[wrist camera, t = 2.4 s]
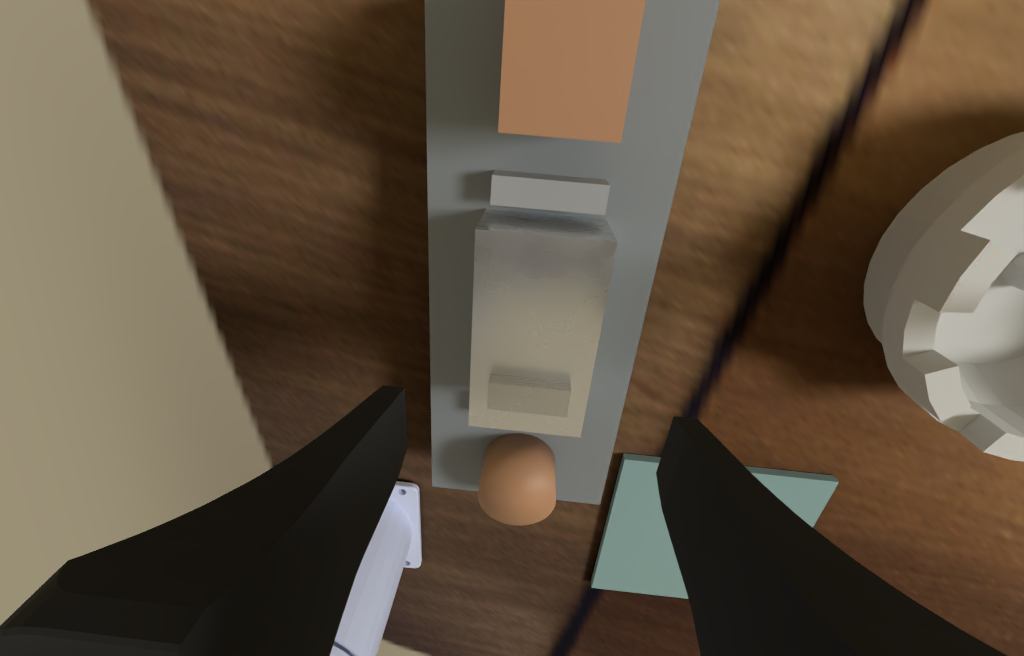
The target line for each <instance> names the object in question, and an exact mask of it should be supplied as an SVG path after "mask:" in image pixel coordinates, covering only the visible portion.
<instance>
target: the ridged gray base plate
mask: <svg viewBox="0 0 1024 656" xmlns="http://www.w3.org/2000/svg"><path fill="white" fill-rule="evenodd" d="M719 3H720V0H425V62H426V125H427V188H428V252H429V315H430V378H431V441H432V486H434V487H443V488H453V489H462V490H471V491H478V501H479V504H480V506H481V508H482V509H483V510H484V512H486V513H487V514H488V515H489V516H490V517H492V518H493V519H495V520H497V521H499V522H502V523H506V524H510V525H529V524H533V523H537V522H539V521H541V520H543V519H545V518H546V517H547V516H548V515H549V514H550V513H551V512H552V511H553V509H554V507H555V503H556V500H563V501H572V502H581V503H590V504H599V505H600V503H601V499H602V494H603V490H604V486H605V482H606V478H607V473H608V469H609V465H610V461H611V457H612V452H613V448H614V444H615V440H616V436H617V431H618V427H619V423H620V419H621V415H622V410H623V406H624V402H625V398H626V394H627V389H628V385H629V381H630V377H631V373H632V368H633V364H634V360H635V356H636V352H637V347H638V343H639V339H640V335H641V331H642V326H643V322H644V318H645V314H646V310H647V305H648V301H649V297H650V293H651V289H652V284H653V280H654V276H655V272H656V268H657V263H658V259H659V255H660V251H661V247H662V242H663V238H664V234H665V230H666V226H667V221H668V217H669V213H670V209H671V205H672V200H673V196H674V192H675V188H676V184H677V180H678V175H679V171H680V167H681V163H682V159H683V154H684V150H685V146H686V142H687V138H688V133H689V129H690V125H691V121H692V117H693V112H694V108H695V104H696V100H697V96H698V91H699V87H700V83H701V79H702V75H703V70H704V66H705V62H706V58H707V54H708V49H709V45H710V41H711V37H712V33H713V28H714V24H715V20H716V16H717V12H718V7H719ZM487 208H491V209H502V210H513V211H524V212H535V213H546V214H557V215H568V216H579V217H590V218H601V219H607V221H608V223H609V226H610V228H611V230H612V232H613V234H614V236H615V238H616V240H617V242H618V243H617V248H616V253H615V258H614V264H613V269H612V274H611V280H610V285H609V290H608V295H607V301H606V306H605V311H604V317H603V322H602V327H601V332H600V338H599V343H598V348H597V353H596V359H595V364H594V369H593V375H592V380H591V385H590V390H589V396H588V401H587V406H586V412H585V417H584V422H583V427H582V433H581V438H580V437H571V436H561V435H552V434H542V433H533V432H523V431H514V430H504V429H494V428H485V427H475V426H468V425H469V396H470V367H471V339H472V310H473V281H474V252H475V229H476V227H477V225H478V223H479V221H480V220H481V218H482V216H483V214H484V212H485V211H486V209H487Z"/></svg>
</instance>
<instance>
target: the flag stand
mask: <svg viewBox="0 0 1024 656" xmlns="http://www.w3.org/2000/svg"><path fill="white" fill-rule="evenodd" d="M863 305H864V309H865V313H866V318H867V322H868V324H869V326H870V328H871V330H872V331H873V333H874V335H875V337H876V338H877V339H878V340H879V341H880V342H881V343H882V345H883V350H884V354H885V359H886V363H887V367H888V369H889V371H890V373H891V374H892V376H893V378H894V380H895V381H896V383H897V385H898V387H899V388H900V389H901V390H902V391H904V392H905V393H906V394H907V395H908V396H909V397H910V398H911V399H912V400H913V401H914V402H915V403H916V404H918V405H919V406H920V407H921V408H922V409H924V410H925V411H926V412H927V413H928V414H930V415H931V416H932V417H933V418H934V419H936V420H937V421H939V422H941V423H943V424H944V425H946V426H948V427H950V428H952V429H954V430H956V431H957V432H959V433H960V434H962V435H963V436H964V437H965V438H967V439H968V440H969V441H970V442H971V443H973V444H974V445H975V446H976V447H978V448H979V449H980V450H981V451H983V452H985V453H989V454H992V455H996V456H999V457H1003V458H1006V459H1010V460H1016V461H1024V131H1023V132H1020V133H1016V134H1013V135H1010V136H1007V137H1005V138H1003V139H1000V140H998V141H996V142H994V143H991V144H989V145H987V146H985V147H982V148H980V149H978V150H976V151H975V152H973V153H971V154H970V155H968V156H966V157H965V158H963V159H961V160H960V161H958V162H957V163H955V164H953V165H952V166H950V167H948V168H947V169H946V170H944V171H943V172H942V173H941V174H939V175H938V176H937V177H936V178H934V179H933V180H932V181H931V182H930V183H928V184H927V185H926V186H925V187H923V188H922V189H921V190H920V191H919V192H918V193H917V194H916V195H915V196H914V197H913V198H912V199H911V200H910V201H909V203H908V204H907V205H906V206H905V207H904V208H903V209H902V210H901V211H900V212H899V213H898V214H897V216H896V217H895V219H894V220H893V222H892V223H891V224H890V226H889V227H888V229H887V230H886V232H885V233H884V234H883V236H882V237H881V239H880V241H879V243H878V246H877V248H876V250H875V252H874V254H873V256H872V258H871V260H870V263H869V267H868V271H867V275H866V278H865V282H864V303H863Z"/></svg>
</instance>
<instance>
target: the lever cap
mask: <svg viewBox="0 0 1024 656" xmlns="http://www.w3.org/2000/svg"><path fill="white" fill-rule="evenodd" d="M617 243H618V242H617V240H616V238H615V236H614V234H613V232H612V230H611V228H610V226H609V223H608V221H607V219H601V218H590V217H579V216H568V215H557V214H546V213H535V212H524V211H513V210H502V209H491V208H487V209H486V211H485V212H484V214H483V216H482V218H481V220H480V221H479V223H478V225H477V227H476V229H475V252H474V281H473V310H472V339H471V367H470V396H469V425H468V426H475V427H485V428H494V429H504V430H514V431H523V432H533V433H542V434H552V435H561V436H571V437H580V438H581V433H582V427H583V422H584V417H585V412H586V406H587V401H588V396H589V390H590V385H591V380H592V375H593V369H594V364H595V359H596V353H597V348H598V343H599V338H600V332H601V327H602V322H603V317H604V311H605V306H606V301H607V295H608V290H609V285H610V280H611V274H612V269H613V264H614V258H615V253H616V248H617Z"/></svg>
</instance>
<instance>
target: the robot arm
mask: <svg viewBox="0 0 1024 656" xmlns="http://www.w3.org/2000/svg"><path fill="white" fill-rule="evenodd" d="M407 446H408V443H407V421H406V398H405V388H401V387H392V386H382V387H380V388H379V389H378V390H377V391H375V392H374V393H373V394H372V395H370V396H369V397H368V398H367V399H365V400H364V401H363V402H362V403H361V404H359V405H358V406H357V407H356V408H355V409H353V410H352V411H351V412H350V413H348V414H347V415H346V416H345V417H343V418H342V419H341V420H340V421H338V422H337V423H336V424H335V425H333V426H332V427H331V428H329V429H328V430H327V431H326V432H324V433H323V434H322V435H320V436H319V437H317V438H316V439H315V440H313V441H312V442H311V443H309V444H308V445H306V446H305V447H304V448H302V449H301V450H299V451H298V452H297V453H295V454H294V455H292V456H291V457H289V458H287V459H286V460H284V461H283V462H281V463H280V464H278V465H276V466H275V467H273V468H271V469H270V470H268V471H266V472H265V473H263V474H261V475H260V476H258V477H256V478H255V479H253V480H251V481H249V482H248V483H246V484H244V485H242V486H240V487H238V488H236V489H234V490H232V491H230V492H229V493H227V494H225V495H223V496H221V497H219V498H217V499H215V500H213V501H211V502H209V503H207V504H205V505H203V506H201V507H199V508H197V509H195V510H193V511H190V512H188V513H186V514H184V515H182V516H180V517H178V518H175V519H173V520H171V521H169V522H166V523H164V524H162V525H159V526H157V527H155V528H152V529H150V530H147V531H145V532H143V533H140V534H138V535H135V536H133V537H130V538H127V539H125V540H122V541H119V542H117V543H114V544H112V545H109V546H106V547H104V548H101V549H99V550H96V551H93V552H91V553H88V554H85V555H83V556H80V557H77V558H74V559H71V560H69V561H67V562H66V563H65V564H64V565H63V566H62V567H61V568H60V569H59V570H58V571H57V572H56V573H54V574H53V575H52V576H51V577H50V578H49V579H48V580H47V581H46V582H45V583H44V584H43V585H42V586H41V587H40V588H39V589H38V590H37V591H36V592H35V593H34V594H33V595H32V596H31V597H30V598H29V599H28V600H26V601H25V602H24V603H23V604H22V605H21V606H20V607H19V608H18V609H17V610H16V611H15V612H14V613H13V614H12V615H11V616H10V617H9V618H8V619H7V620H6V621H5V622H4V623H3V624H2V625H1V626H0V656H376V655H377V652H378V649H379V646H380V642H381V639H382V636H383V633H384V629H385V626H386V623H387V620H388V616H389V613H390V610H391V606H392V603H393V600H394V597H395V593H396V590H397V587H398V584H399V580H400V577H401V574H402V571H403V567H408V568H418V567H420V565H421V561H422V551H421V523H420V494H419V487H418V486H417V485H416V484H414V483H408V482H399V481H397V479H398V476H399V473H400V470H401V467H402V463H403V460H404V456H405V453H406V450H407ZM656 476H657V483H658V490H659V496H660V501H661V507H662V511H663V515H664V519H665V522H666V525H667V529H668V532H669V536H670V539H671V542H672V545H673V549H674V552H675V555H676V559H677V562H678V565H679V569H680V572H681V575H682V578H683V582H684V585H685V588H686V592H687V595H688V599H689V603H690V606H691V610H692V614H693V619H694V624H695V629H696V634H697V639H698V644H699V649H700V653H701V656H1006V655H1005V654H1003V653H1001V652H999V651H998V650H996V649H994V648H992V647H990V646H989V645H987V644H985V643H983V642H982V641H980V640H978V639H976V638H975V637H973V636H971V635H969V634H967V633H966V632H964V631H962V630H961V629H959V628H957V627H956V626H954V625H953V624H951V623H949V622H948V621H946V620H944V619H943V618H941V617H940V616H938V615H936V614H935V613H933V612H932V611H930V610H928V609H927V608H925V607H924V606H922V605H920V604H919V603H917V602H916V601H914V600H913V599H911V598H909V597H908V596H906V595H905V594H903V593H902V592H900V591H899V590H897V589H896V588H894V587H893V586H891V585H890V584H888V583H887V582H885V581H884V580H883V579H881V578H880V577H878V576H877V575H875V574H874V573H873V572H871V571H870V570H868V569H867V568H865V567H864V566H862V565H861V564H860V563H858V562H857V561H855V560H854V559H853V558H851V557H850V556H849V555H847V554H846V553H845V552H843V551H842V550H840V549H839V548H838V547H837V546H835V545H834V544H833V543H831V542H830V541H829V540H828V539H826V538H825V537H824V536H823V535H821V534H820V533H819V532H818V531H816V530H815V529H814V528H812V527H811V526H810V525H809V524H807V523H806V522H805V521H804V520H803V519H801V518H800V517H799V516H798V515H797V514H796V513H794V512H793V511H792V510H791V509H790V508H789V507H788V506H786V505H785V504H784V503H783V502H782V501H781V500H780V499H779V498H777V497H776V496H775V495H774V494H773V493H772V492H771V491H770V490H769V489H768V488H767V487H765V486H764V485H763V484H762V483H761V482H760V481H759V480H758V479H757V478H756V477H755V476H754V475H753V474H752V473H751V472H750V471H749V470H748V469H747V468H746V467H745V466H744V465H743V464H742V463H741V462H740V461H739V460H738V459H737V458H736V457H735V456H734V455H733V454H732V453H731V452H730V451H729V450H728V449H727V448H726V447H725V446H724V445H723V444H722V443H721V442H720V441H719V440H718V439H717V438H716V437H715V436H714V435H713V434H712V433H711V432H710V431H709V430H708V429H707V428H706V427H705V426H704V425H703V424H702V423H701V422H700V421H699V420H698V419H692V418H683V417H674V418H673V421H672V424H671V427H670V430H669V434H668V437H667V440H666V443H665V446H664V449H663V453H662V456H661V459H660V462H659V465H658V468H657V472H656ZM402 489H403V490H402Z"/></svg>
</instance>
